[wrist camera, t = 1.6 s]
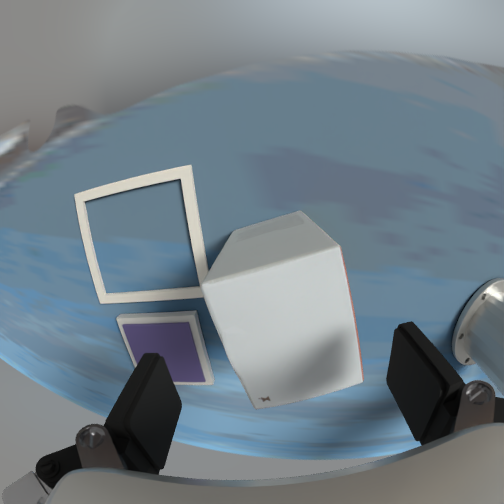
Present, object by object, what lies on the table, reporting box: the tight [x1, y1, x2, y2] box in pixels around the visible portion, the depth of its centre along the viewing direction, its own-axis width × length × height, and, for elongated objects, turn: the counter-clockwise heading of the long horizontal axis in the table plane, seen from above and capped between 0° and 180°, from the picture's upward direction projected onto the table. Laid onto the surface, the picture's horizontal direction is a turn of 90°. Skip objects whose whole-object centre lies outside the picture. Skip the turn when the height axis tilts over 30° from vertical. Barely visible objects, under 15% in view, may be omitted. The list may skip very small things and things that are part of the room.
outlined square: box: [74, 165, 209, 304], centre depth 24 cm, size 13×12×1 cm
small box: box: [200, 211, 364, 409], centre depth 18 cm, size 8×6×13 cm
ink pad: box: [116, 310, 215, 385], centre depth 27 cm, size 9×9×1 cm
